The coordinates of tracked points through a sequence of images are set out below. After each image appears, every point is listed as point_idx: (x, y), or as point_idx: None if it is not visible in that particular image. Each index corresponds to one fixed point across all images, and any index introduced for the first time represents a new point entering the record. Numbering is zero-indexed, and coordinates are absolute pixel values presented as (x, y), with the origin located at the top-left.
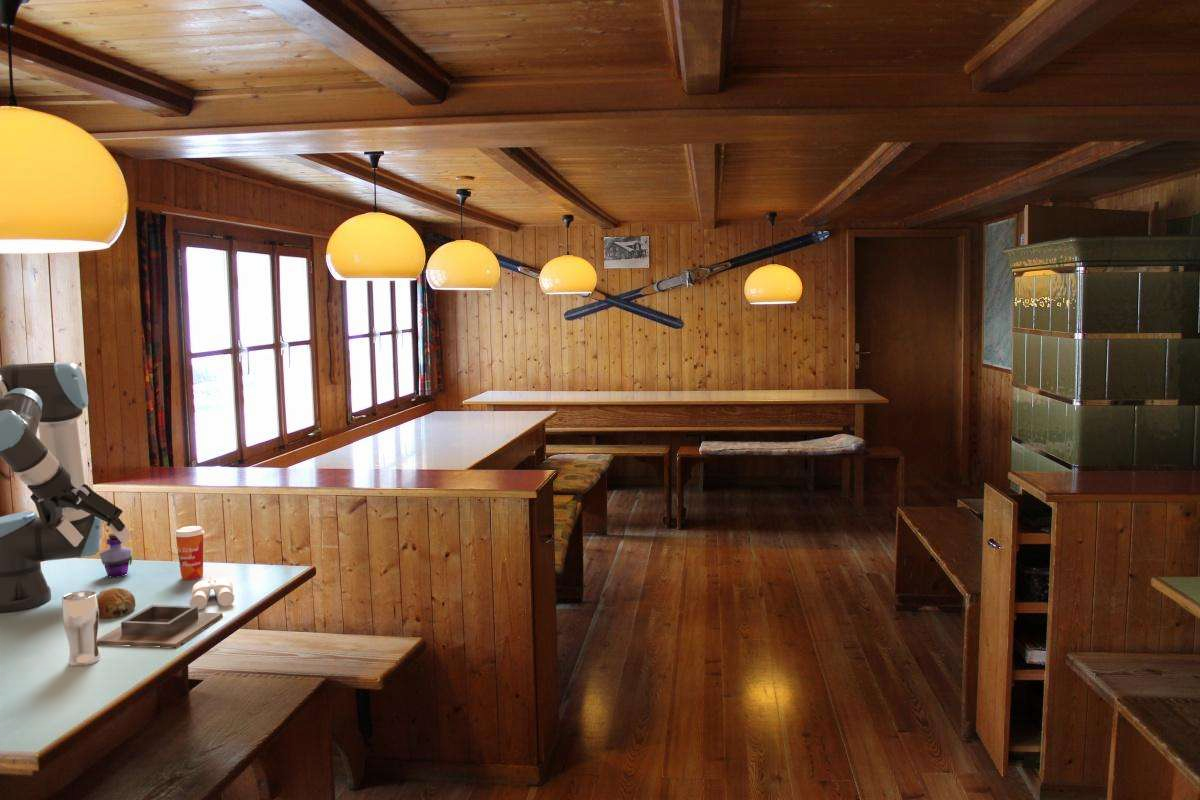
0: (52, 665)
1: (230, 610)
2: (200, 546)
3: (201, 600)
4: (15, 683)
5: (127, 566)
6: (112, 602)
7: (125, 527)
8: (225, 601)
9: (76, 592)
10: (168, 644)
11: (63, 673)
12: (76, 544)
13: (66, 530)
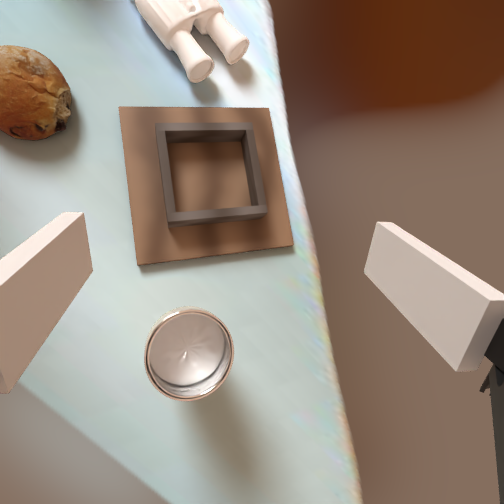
0: (135, 369)
1: (257, 81)
2: None
3: (205, 66)
4: (135, 460)
5: None
6: (41, 112)
7: (424, 246)
8: (236, 55)
9: (156, 332)
10: (280, 246)
11: None
12: (89, 269)
13: (40, 320)
